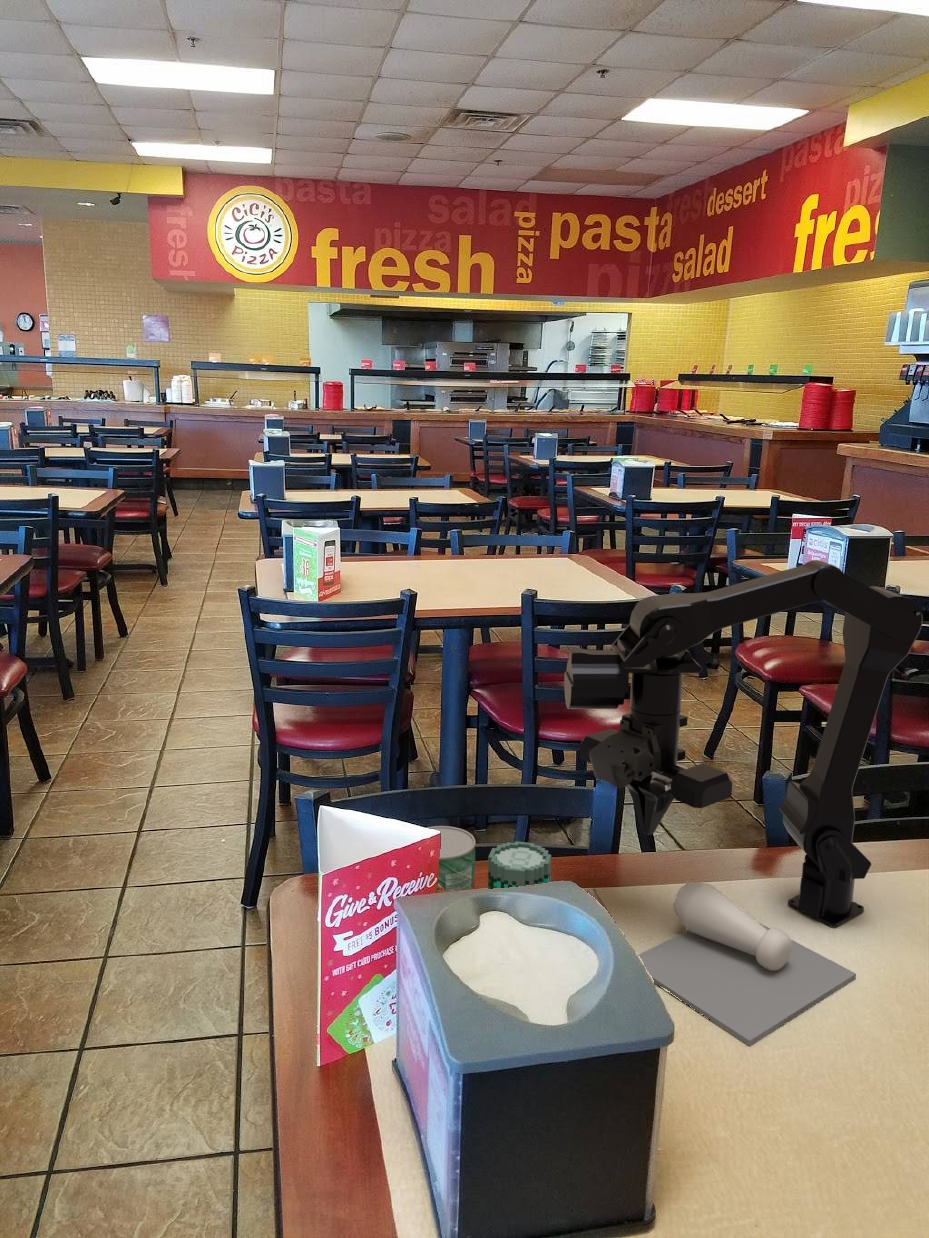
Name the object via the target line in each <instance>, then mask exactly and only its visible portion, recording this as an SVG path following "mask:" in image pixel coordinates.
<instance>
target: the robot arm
mask: <svg viewBox="0 0 929 1238" xmlns="http://www.w3.org/2000/svg"><path fill="white" fill-rule="evenodd" d="M817 602H824V603H825V604H828V605H830V606H831V607H833V608H835V609H836V610H838V611H839V612H841V613H843V614H844V616H843V617H844V618H843V627H842V639H843V640H842V641H843V648H844V649H843V650H844V657H845V659H844V665H843V668H842V671H841V675H840V678H839V681H838V683H837V688H836V690H835V694H834V697H833V700H832V703H831V707H830V710H829V713H828V717H827V720H826V724H825V726H824V729H823V733H822V737H821V740H820V743H819V746H818V749H817V753H816V756H815V760H814V763H813V765H812V769H811V771H810V772H809V775H808V776H807V777H806V778H804V779H803V780H802V781H801V783H797V782H796V781H792V780H789V781H788V784H787V786H786V795H785V799H784V801H783V802H782V804H781V806H779V808H778V809H779V811H780V812H781V813H782V823H783V825H784V827H785V829H786V831H787V833H788V834H789V835H790V836H791V837H792V839H793V841H795V842H796V844H797V846H798V847H799V848H801V849H802V851H803V852H804V853H805V855H804V860H803V863H802V871H801V878H800V885H799V894H797V895H795V896H793V897H792V898H789V899H788V900H787V905H788V906H789V907H791V908H792V909H793V908H794V910H797V911H799V912H801V913H803V914H805V915H808V916H810V917H812V918H813V919H815V920H818V921H820V922H822V923H824V924H825V925H827V926H830V927H832V928H837V927H838V926H840V925H842V924H844V923H846V922H847V921H849V920H851V919H853V918H855V917H857V916H859V915H860V914H862V913H863V912H864V911H865V907H864V906H863V904H862V905H861V904H860V903H857V902H855V901H853V899H854V898H853V897H854V888H855V881H856V880H860V879H861V880H862V879H863V880H864V879H866V876H867V874H868V872H869V870H870V868H871V865H872V862H871V861H870V860H869V859H868V857H866V856H865V855H864V854H863V852H862V851H861V850H860V849H858V847H857V846H856V845H855V844H854V843H853V839H854V838H853V837H854V831H855V823H856V822H855V821H856V814H855V805H854V797H853V796H854V795H853V789H854V784H855V781H856V778H857V774H858V772H859V768H860V766H861V763H862V761H863V760H862V759H863V756H864V753H865V750H866V747H867V743H868V742H869V741H868V740H869V737H870V733H871V731H872V728H873V725H874V721H875V718H876V716H877V713H878V709H879V707H880V706H879V705H880V703H881V700H882V698H883V697H882V696H883V693H884V690H885V687H886V684H887V681H888V679H889V676H890V674H891V672H892V671H894V669H895V668H897V666H898V665H899V664H900V663H901V662H902V661H903V660H904V659H905V658H906V657H907V656H908V655H909V654H910V651H911V649H912V647H913V646H914V643H915V641H916V640H917V638H918V636H919V634H920V632H921V629H922V627H923V621H924V617H923V613H922V612H921V610H920V608H919V606H918V605H917V604H916V603H915V602H914V601H913V600H912V599H911V598H908V597H906V596H903V595H900V594H899V593H896V592H893V591H891V590H888V589H885V588H883V587H880V586H876V585H875V586H872V585H870V586H868V585H866V584H864V583H862V582H861V581H858V580H857V579H855V578H853V577H851V576H850V575H848V574H846V573H845V572H843V571H842V570H841V568H839V567H838V566H836V565H833V564H831V563H828V562H825V561H823V560H819V559H814V560H809V561H807V562H806V563H803V564H802V565H799V566H795V567H792V568H788V569H786V570H785V569H784V570H781V571H778V572H775V573H770V574H767V575H763V576H759V577H757V578H752V579H750V580H746V581H742V582H738V583H735V584H732V585H729V586H725V587H722V588H718V589H714V590H711V591H706V592H705V591H704V592H697V593H696V592H695V593H693V592H692V593H690V592H687V593H686V592H685V593H684V592H682V593H681V592H679V593H678V592H676V593H675V592H674V593H669V594H668V593H667V594H658V595H651V596H650V595H649V596H647V597H644V598H642V599H640V600H639V601H638V602H636V604H635V606H634V608H633V610H632V612H631V615H630V618H629V623H628V624H627V625H626V627H625V628H624V629H623V630H622V631H621V633H620V634H619V635H618V637H617V638H615V640H614V641H613V643H612V644H611V645H610V647H611V650H610V649H609V650H608V649H601V650H600V649H596V650H595V649H594V650H593V649H592V650H589V649H585V648H571V649H569V650H568V651H569V654H568V655H569V657H568V660H567V663H566V671H564V678H563V679H564V680H563V681H564V700H565V705H566V709H567V710H616V709H617V710H618V708H619V706H623V705H624V703H625V701H627V699H628V698H630V699H629V701H630V702H629V713H626V714H622V715H621V719H620V721H619V728H618V730H615V729H613V728H609V729H605V730H601V731H598V732H595V733H592V734H591V733H590V734H588V735H585V736H584V738H583V739H582V741H581V742H580V745H579V746H580V747H579V749H580V750H579V759H581V760H583V761H585V762H586V763H590V764H591V767H592V771H593V774H594V777H595V779H597V780H603V781H604V782H607V783H610V784H611V785H612V787H616V788H625V787H626V788H627V790H628V791H629V794H630V797H631V800H632V803H633V806H634V808H635V812H636V814H637V817H638V822H639V825H640V828H641V831H642V833H643V834H645V835H646V836H650V835H653V834H654V833H655V831H656V830H657V829H658V827H659V825H660V823H661V821H662V820H663V818H664V816H665V814H666V813H667V811H668V809H669V807H670V806H671V804H672V802H673V801H674V800H675V801H677V802H679V803H682V804H684V805H687V806H689V807H692V808H694V809H703V808H707V807H709V806H711V805H713V804H716V803H718V802H721V801H724V800H727V799H729V798H732V794H733V779H732V777H731V776H730V774H729V773H728V772H726V771H723V770H721V769H718V768H715V767H713V766H710V765H708V764H706V763H700V764H697V765H694V766H691V767H688V766H685V765H682V764H680V763H678V762H681V761H682V760H685V759H686V750H684V749H682V748H679V745H680V731H681V730H680V728H682V727H686V726H688V716H686V715H682V713H681V712H682V711H681V710H682V694H683V693H682V691H683V679H684V678H683V677H684V676H683V675H684V674H700V673H702V672H703V667H702V666H701V665H700V664H699V663H698V662H697V661H696V660H695V659H694V658H693V656H692V655H691V652H690V651H689V649H691V648H693V647H695V646H697V645H699V644H702V642H703V641H706V640H707V638H709V637H710V636H711V635H713V634H714V633H716V632H719V631H720V630H722V629H725V628H729V627H733V626H737V625H739V624H743V623H746V622H749V621H750V622H751V621H753V620H758V619H761V618H764V617H768V616H771V615H775V614H779V613H782V612H786V611H789V610H792V609H796V608H800V607H804V606H807V605H810V604H814V603H817ZM630 674H631V678H630V679H631V680H629V676H630ZM629 690H630V697H629Z"/></svg>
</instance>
